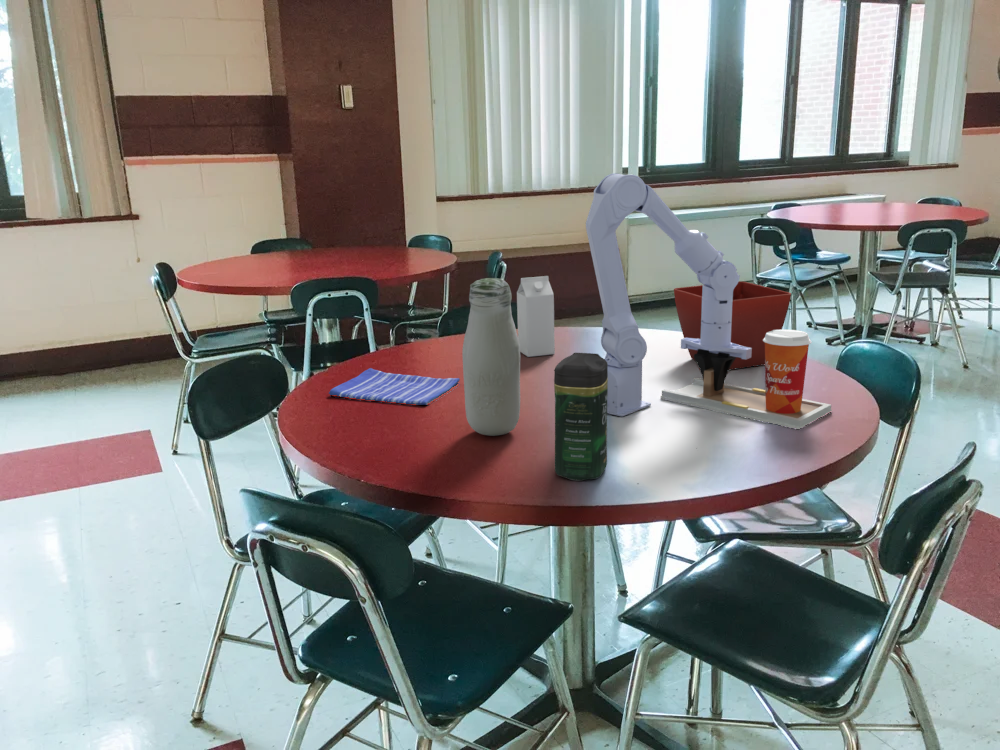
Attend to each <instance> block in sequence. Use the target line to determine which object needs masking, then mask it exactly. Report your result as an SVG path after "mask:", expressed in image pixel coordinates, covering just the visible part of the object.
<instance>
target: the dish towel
mask: <svg viewBox="0 0 1000 750" xmlns="http://www.w3.org/2000/svg"><path fill="white" fill-rule="evenodd" d="M459 382H460V378H459V377H457V378H456V377H455V378H453V377H448V378H441V377H440V378H439V377H438V378H434V377H430V376H421V375H411V374H401V373H392V372H384V371H381V370H378V369H373V368H372V367H370V368H368V369H366V370H363V372H361V373H360V374H359V375H357V376H355V377H353V378H351V379H349V380H347V381H345V382H343V383H341V384H339V385H337V386H335V387H333V388H331V389H330V391H328V395H329V394H330V395H337V396H340V397H349V398H356V399H365V400H375V401H385V402H386V401H387V402H396V403H406V404H416V405H427V404H428V403H430V402H431V401H433V400H434V399H436V398H438V397H439V396H441V395H442V394H444V393H446V392H447V391H449V390H450V389H451V388H452V387H454V386H456V385H457V384H459V385H460V383H459ZM330 395H329V396H330ZM427 406H428V405H427Z"/></svg>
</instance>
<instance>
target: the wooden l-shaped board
mask: <svg viewBox="0 0 1000 750" xmlns="http://www.w3.org/2000/svg"><path fill="white" fill-rule="evenodd" d="M697 397H702V398H706V399H711V400H716V401H720V402H723V401H727V402H732V403H736V404H741V405H746V406H749V408H752V409H757V410H761V411H766V412H771V411H769V410H767V409H766V396H763V395H758V394H753V393H748V392H743V391H738V390H733V389H729V388H724V385H723V389H721V390H719V391H715V390H714V369H713V367H712V368H710V369H707V370H704V385H703V393H702V394H700V395H698V396H697ZM817 408H819V407H817V406H812V405H807V404H802V403H801V410H800V411H799V412H797V413H792V414H782V413H775V412H771V413H775V414H780V415H784V416H789V417H794V418H799V417H801V416H803V415H805V414H807V413H809V412H811V411H813V410H815V409H817Z"/></svg>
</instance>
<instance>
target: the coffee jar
mask: <svg viewBox="0 0 1000 750" xmlns="http://www.w3.org/2000/svg"><path fill="white" fill-rule="evenodd" d="M607 367H608V364H607V362H606V360H605V358H603V357H602V356H601V355H600V354H599V353H593V352H592V353H590V352H589V353H588V352H573V353H572V354H571V355H569V356H566V357H565V358H563V359H562V360H561V361H559V362H558V363H557V365H556V366H555V367H554V369H553V371H554V374H553V375H554V376H553V377H554V379H553V383H554V384H553V385H554V386H553V387H554V390H553V391H554V471H555V474H556V475H557V476H559V477H563V478H565V479H567V480H571V481H577V482H578V481H579V482H581V481H584V480H593V479H594V480H595V479H598V478H600V477H601V476H602V475H603V473H604V472H605V469H606V468H607V464H608V413H607V392H608V368H607Z"/></svg>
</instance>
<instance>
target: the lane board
mask: <svg viewBox="0 0 1000 750" xmlns="http://www.w3.org/2000/svg"><path fill="white" fill-rule="evenodd" d="M703 385H704V382H703V378H699V377H694V378H692V383H691V384H688V385H686V386H684V387H681V388H678V389H676V390H671V389H669V390H668V389H663V390H661V395H660V400H666V401H669V402H672V403H673V402H674V403H678V404H683V405H687V406H692V407H696V408H700V409H703V410H704V409H705V410H708V411H709V410H710V411H713V412H717V413H721V412H723V413H722V414H726V413H728V414H727V415H730V414H733V415H732V416H734V415H737V416H736V417H739V416H742V417H741V418H743V417H746V418H745V419H748V418H750V419H749V420H752V419H755V420H754V421H756V420H760V421H759V422H761V421H763V422H762V423H765V422H769V423H773V424H772V425H774V424H778V425H782V426H781V427H783V426H786V427H785V428H787V427H790V428H789V429H791V428H796V429H800V428H802V427H804V426H805V425H807V424H809V423H810V422H812V421H814V420H816V419H817V418H819V417H821V416H823V415H825V414H826V413H828V412H830V411H832V404H830V403H825V402H821V401H820V402H819V401H815V400H810V399H806V398H802V404H807V405H812V406H817V407H819V408H817V409H815V410H813V411H811V412H809V413H807V414H805V415H803V416H801V417H799V418H794V417H789V416H784V415H780V414H775V413H771V412H766V411H761V410H757V409H752V408H749V406H746V405H741V404H736V403H732V402H727V401H723V402H720V401H716V400H711V399H706V398H702V397H697V396H698V395H700V394H702V393H703ZM724 388H729V389H733V390H738V391H743V392H748V393H753V394H758V395H763V396H766V394H765V389H763V388H757V387H754V388H751V387H750V388H749V387H745V386H741V385H734V384H731V383H725V382H724ZM832 412H833V411H832ZM769 423H768V424H769ZM778 425H777V426H778ZM809 425H810V424H809ZM807 426H808V425H807ZM805 427H806V426H805ZM805 427H804V428H805ZM796 429H795V430H796ZM802 429H803V428H802ZM800 430H801V429H800Z"/></svg>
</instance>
